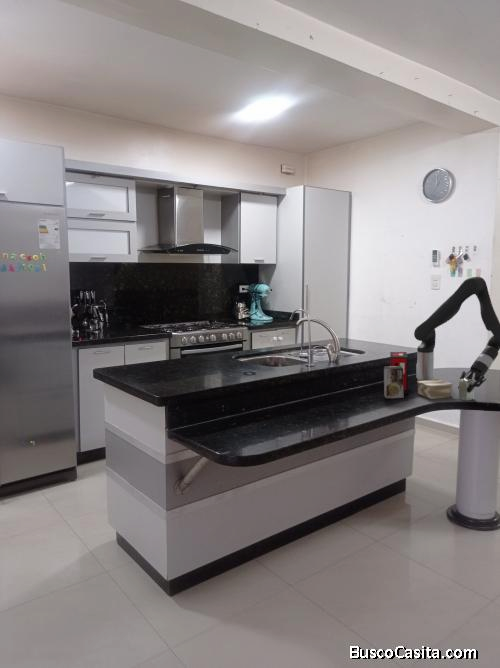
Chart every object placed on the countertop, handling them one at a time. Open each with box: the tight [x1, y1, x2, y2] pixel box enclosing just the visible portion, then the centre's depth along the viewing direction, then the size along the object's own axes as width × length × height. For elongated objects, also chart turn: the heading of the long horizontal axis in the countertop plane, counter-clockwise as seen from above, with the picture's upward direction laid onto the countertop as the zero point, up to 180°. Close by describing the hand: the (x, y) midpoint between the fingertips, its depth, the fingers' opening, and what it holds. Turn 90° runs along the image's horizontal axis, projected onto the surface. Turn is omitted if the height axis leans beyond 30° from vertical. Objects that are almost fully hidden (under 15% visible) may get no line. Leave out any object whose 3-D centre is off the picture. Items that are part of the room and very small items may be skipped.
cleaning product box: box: [389, 351, 409, 394], centre depth 270 cm, size 16×9×20 cm, turn 164°
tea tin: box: [458, 378, 475, 401], centre depth 246 cm, size 5×5×10 cm
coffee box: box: [383, 365, 405, 399], centre depth 256 cm, size 9×6×16 cm
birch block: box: [416, 378, 453, 400], centre depth 256 cm, size 13×13×7 cm
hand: (463, 390), depth 245 cm, fingers closed on tea tin, 5 cm apart
